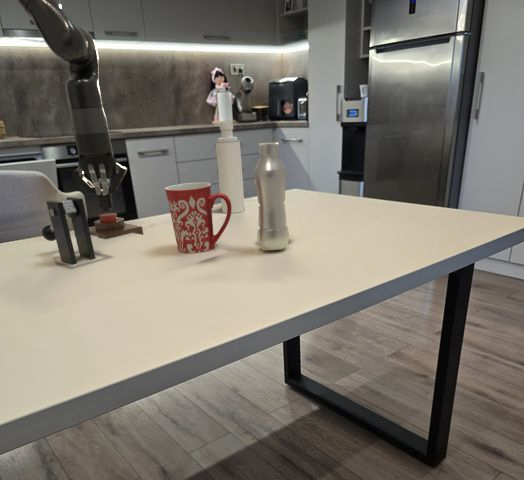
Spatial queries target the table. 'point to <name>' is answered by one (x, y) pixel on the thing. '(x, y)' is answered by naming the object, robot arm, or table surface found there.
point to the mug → (194, 216)
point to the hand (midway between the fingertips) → (107, 210)
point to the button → (108, 217)
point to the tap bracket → (64, 235)
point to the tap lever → (69, 212)
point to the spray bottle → (230, 168)
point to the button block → (113, 229)
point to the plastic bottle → (271, 198)
